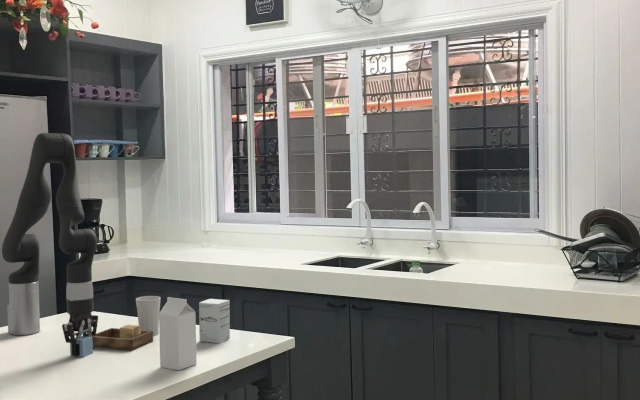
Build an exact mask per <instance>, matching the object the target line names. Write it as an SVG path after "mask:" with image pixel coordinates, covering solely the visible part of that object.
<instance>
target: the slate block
mask: <svg viewBox="0 0 640 400" xmlns="http://www.w3.org/2000/svg"><path fill="white" fill-rule="evenodd" d="M75 339H76V336H75ZM79 344H80V355H79V356H73V355H72V346H71V343H69V349H70V350H69V351H70V352H69V353H70V354H69V355H70V357H77V358H85V357H88V356H89V355H90V356H91V355H92V354H94V349H93V348H94V347H93V340H92V337H88V336H83V335H81V336H80V340H79Z"/></svg>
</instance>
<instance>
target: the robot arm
mask: <svg viewBox="0 0 640 400" xmlns="http://www.w3.org/2000/svg"><path fill="white" fill-rule="evenodd" d="M30 154H31V155H30V159H29V163H28V168H27V172H26V176H25V178H24V183H23V185H22V189H21V191H20V195H19V197H18V200H17V204H16V208H15V212H14V214H13V218H12V220H11V222H10V225H9V227H8V229H7V232H6V234H5V235H4V236H5V237H4V239H3V242H2V244H1V245H2V246H1V255H2V259H3V260H4V261H5V262H7V263H13V264H15V263H23V265H22V266H21V267H20V268H19V269H17V270H16V271H13V272H11V273H10V274H9V275H8V294H9V295H8V296H9V297H8V298H9V304H7V306H6V307H7V308H6V310H7V331H8V332H7V333H8V334H11V335H13V336H27V335H33V334H37V333H39V332H41V326H40V325H41V323H40V322H41V321H40V319H41V318H40V317H41V316H40V287H39V285H40V284H39V274H40V241H39V238H38V237H37V235H35V234H33V233H27V232H28V231H29V230H31V228H32V227H34V226H35V225H36V224H37V223H38V222H40V220H42V218H43V217H45V216H46V213H47V212H48V210H49V207H50V203H51V201H52V197H53V196H52V190H51V187H50V185H49V182H48V180H47V179H46V177H45V174H44V170H45V166H46V164H62V167H63V176H62V178H61V181H60V184H59V186H58V188H57V192H56V194H55V195H56V196H55V204H56V209H57V213H58V217H59V238H58V247H59V248H60V250H61V252H62V253H64V254H66V255H75V254H81V255H80V257H79V258H78V259H75V260H73V261H71V262H68V263H67V264H66V267H65V268H66V287H65V288H66V291H65V292H66V294H65V295H66V297H65V298H66V299H65V300H66V313H67V314H68V315H69V319H68V322H67V323H63V324H62V325H61V329H62V331H63V336H64V340H65V343H67V344H70V343H71V346H72V355H73V356H72V357H75V356H79V355H80V344H79V340H80V336H88V337H92V336H93V335H96V333H97V330H98V329H97V328H98V322H99V316H98V315H95V314H92V313H94V310H95V309H94V306H95V305H94V285H93V278H92V277H93V276H92V275H93V273H92V270H93V269H92V266H93V262H94V257H95V253H96V250H97V246H98V237H97V234H96V233H95V231H94V230H93V229H91V228H80V229H79V228H78V229H77V228H76V229H72V227H73V226H74V227H75V226H77V225H79V224H82V223H83V222H84V220H85V212H84V208H83V205H82V204H83V203H82V200H81V196H80V191H79V190H80V189H79V182H78V170H77V158H76V149H75V144H74V141H73V138H72V137H71V136H70V135H69V134H66V133H57V132H56V133H55V132H51V133H50V132H42V133H39V134H38V135H37V136H36V137H35V139H34V142H33V145H32V149H31V153H30ZM75 337H76V339H75Z"/></svg>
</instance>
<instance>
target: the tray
mask: <svg viewBox="0 0 640 400" xmlns="http://www.w3.org/2000/svg"><path fill="white" fill-rule="evenodd" d="M92 340H93V348H95V349H96V348H99V349H110V350H120V351H132V352H133V351H134V350H137V349H139V348H141V347H143V346H146V345H148V344H151V343H153V342H154V336H153V331H144V330H141V335H140V336H137V337H135V338H132V339H124V338H120V328H114V327H110V328H108V329H105V330H102V331H99V332H96V335H93V336H92Z"/></svg>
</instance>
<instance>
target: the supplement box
mask: <svg viewBox="0 0 640 400" xmlns="http://www.w3.org/2000/svg"><path fill="white" fill-rule="evenodd" d="M230 304H231V303H230V299H221V298H220V299H217V298H208V299H205V300H202V301H199V303H198V308H199V309H198V313H199V314H198V315H199V317H198V319H199V320H198V321H199V325H198V326H199V327H198V328H199V342H200V343H201V342H205V343H214V344H221V343H224V342H226V341H227V340H229V339H231V338H230V337H231V331H230V329H231V325H230V324H231V322H230V320H231V319H230V315H231V314H230V312H231V311H230Z"/></svg>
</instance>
